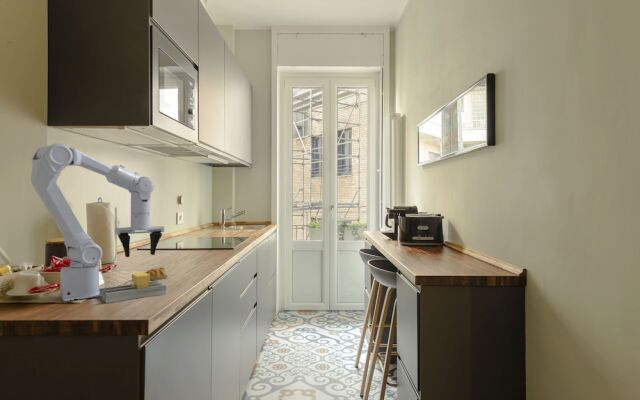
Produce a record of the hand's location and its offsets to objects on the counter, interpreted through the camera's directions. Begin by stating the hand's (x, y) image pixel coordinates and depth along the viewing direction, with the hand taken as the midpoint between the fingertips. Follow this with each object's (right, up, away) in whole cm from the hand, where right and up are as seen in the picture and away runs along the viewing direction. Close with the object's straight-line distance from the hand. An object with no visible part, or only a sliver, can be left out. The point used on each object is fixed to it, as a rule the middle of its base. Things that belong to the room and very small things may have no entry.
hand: (140, 255), depth 123 cm
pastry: (0, -10, +11) cm, 15 cm away
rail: (+3, -10, -12) cm, 16 cm away
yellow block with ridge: (+5, -9, -11) cm, 15 cm away
